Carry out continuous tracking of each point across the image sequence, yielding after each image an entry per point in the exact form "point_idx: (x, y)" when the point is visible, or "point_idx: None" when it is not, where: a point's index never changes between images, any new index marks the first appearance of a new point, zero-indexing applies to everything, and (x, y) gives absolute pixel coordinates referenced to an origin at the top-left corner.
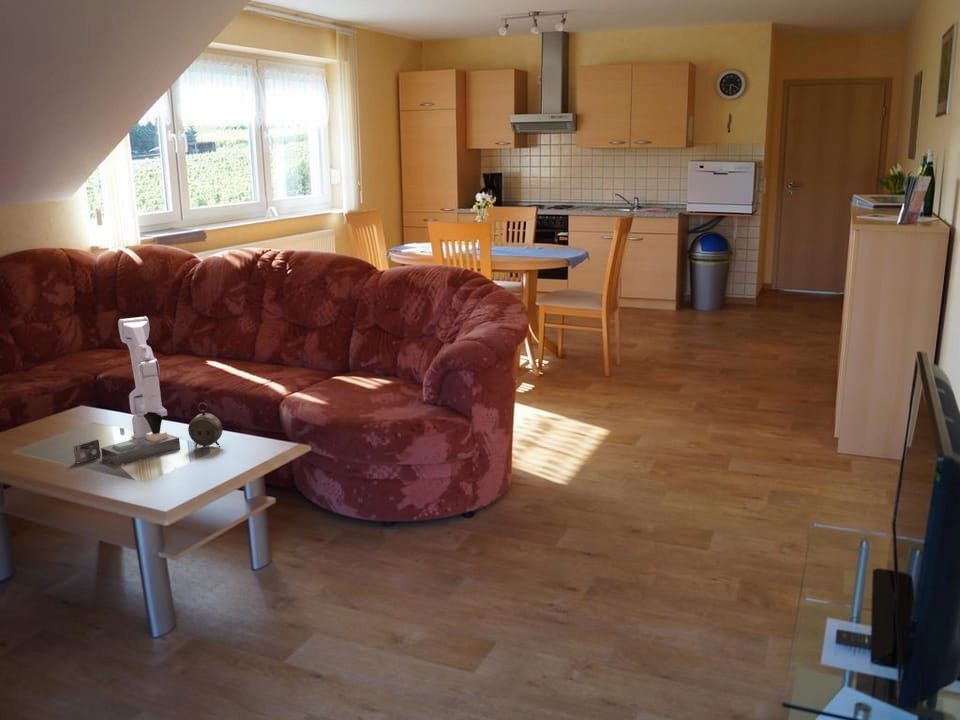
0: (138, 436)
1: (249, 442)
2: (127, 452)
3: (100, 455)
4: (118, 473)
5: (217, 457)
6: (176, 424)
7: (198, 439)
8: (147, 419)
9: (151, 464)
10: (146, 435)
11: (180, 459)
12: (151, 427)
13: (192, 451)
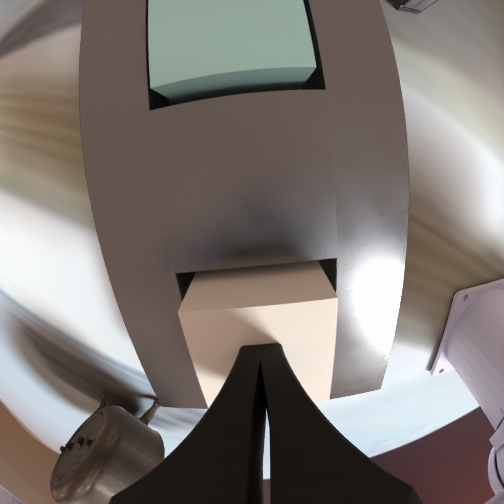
0: (500, 291)
1: None
2: (84, 32)
3: (399, 7)
4: (40, 15)
5: (15, 357)
6: (469, 410)
7: (98, 420)
8: (305, 472)
9: (27, 154)
10: (321, 289)
11: (27, 281)
12: (264, 386)
13: (102, 364)
